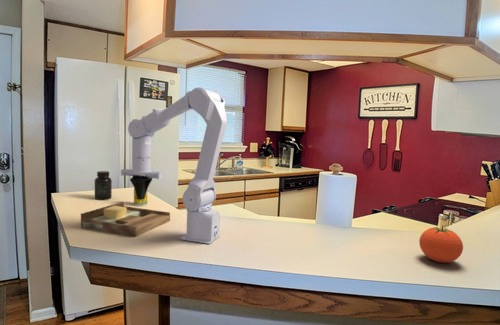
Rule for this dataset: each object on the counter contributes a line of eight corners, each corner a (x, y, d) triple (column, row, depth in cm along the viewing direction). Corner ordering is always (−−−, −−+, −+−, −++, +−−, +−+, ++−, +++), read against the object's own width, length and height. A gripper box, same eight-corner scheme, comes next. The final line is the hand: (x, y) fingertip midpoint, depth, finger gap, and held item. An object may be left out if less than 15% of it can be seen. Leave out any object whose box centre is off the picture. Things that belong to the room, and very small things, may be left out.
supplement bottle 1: (98, 196, 145) (98, 170, 144) (113, 197, 146) (113, 171, 145) (91, 200, 139) (91, 172, 137) (108, 200, 139) (108, 173, 138)
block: (126, 215, 110) (126, 207, 110) (116, 219, 106) (116, 210, 105) (114, 213, 112) (114, 205, 112) (103, 217, 107) (103, 209, 107)
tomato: (445, 254, 93) (448, 220, 92) (470, 269, 83) (474, 232, 82) (410, 253, 93) (413, 219, 92) (431, 268, 82) (435, 230, 81)
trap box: (169, 220, 113) (170, 208, 113) (135, 237, 95) (135, 222, 95) (122, 213, 120) (122, 201, 119) (81, 227, 101) (80, 213, 101)
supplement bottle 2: (148, 203, 137) (148, 181, 136) (146, 206, 132) (146, 183, 131) (135, 203, 136) (135, 181, 135) (132, 206, 131) (132, 183, 130)
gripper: (168, 158, 105) (167, 198, 107) (130, 155, 110) (130, 194, 111) (155, 159, 99) (154, 203, 100) (116, 156, 103) (116, 198, 104)
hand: (141, 199), depth 105 cm, fingers closed
